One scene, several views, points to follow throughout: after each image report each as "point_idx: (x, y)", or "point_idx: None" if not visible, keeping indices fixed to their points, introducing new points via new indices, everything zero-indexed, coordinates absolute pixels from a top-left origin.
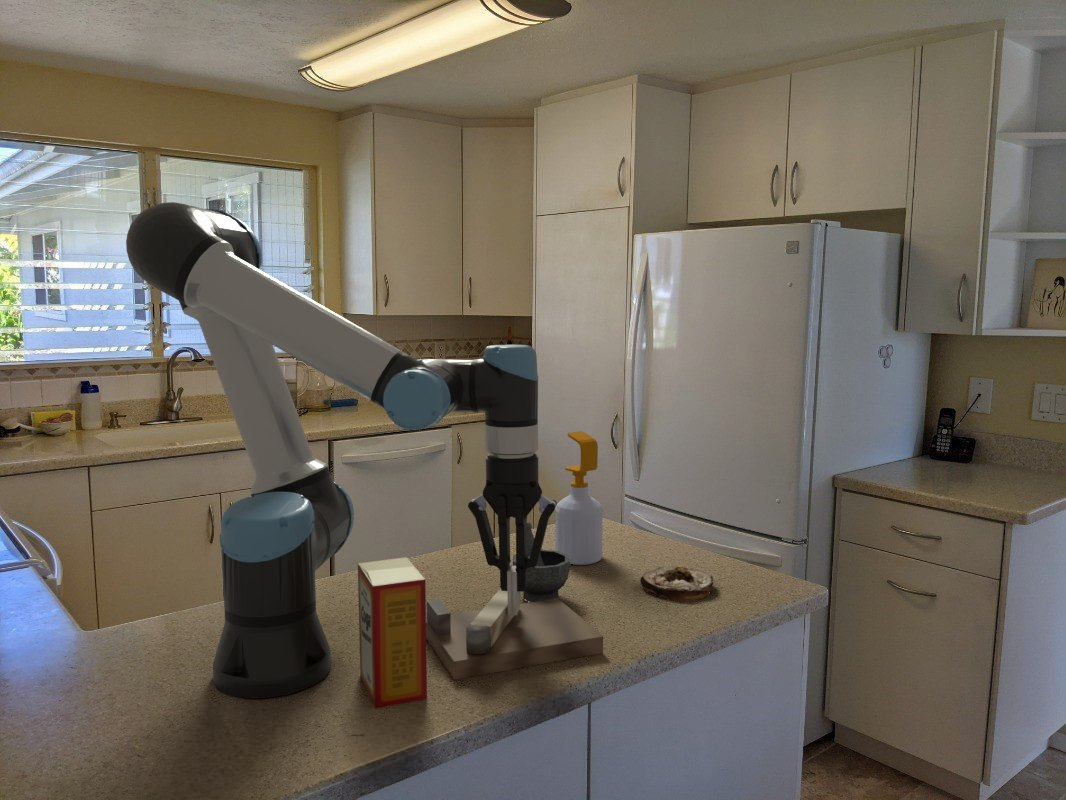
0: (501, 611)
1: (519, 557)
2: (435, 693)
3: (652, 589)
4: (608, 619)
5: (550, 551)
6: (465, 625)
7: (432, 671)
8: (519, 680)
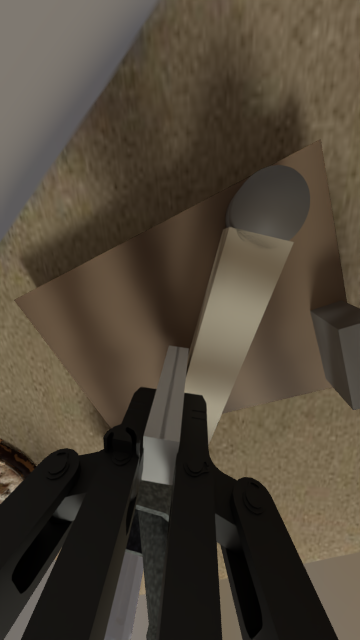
0: (201, 333)
1: (105, 510)
2: (351, 67)
3: (15, 460)
4: (57, 397)
5: (126, 549)
6: (274, 347)
7: (342, 200)
8: (161, 166)
